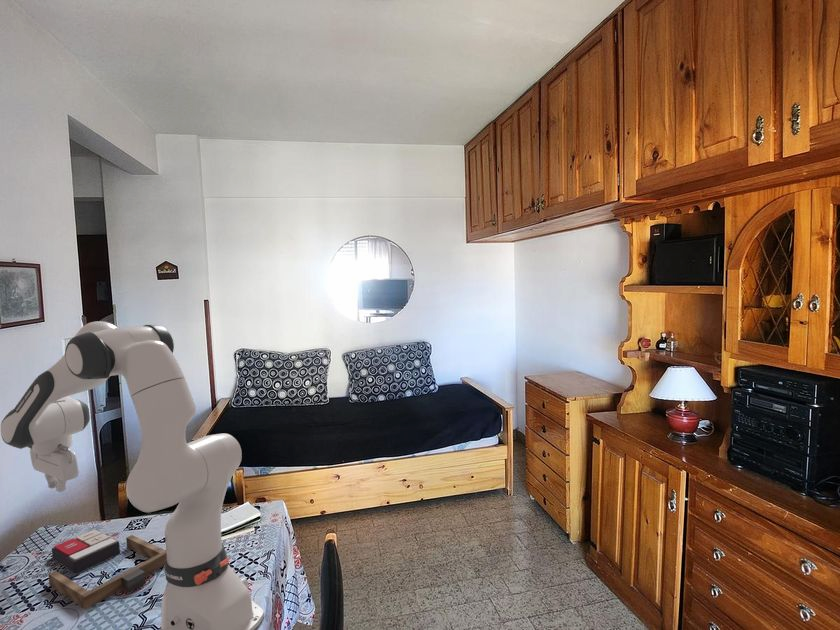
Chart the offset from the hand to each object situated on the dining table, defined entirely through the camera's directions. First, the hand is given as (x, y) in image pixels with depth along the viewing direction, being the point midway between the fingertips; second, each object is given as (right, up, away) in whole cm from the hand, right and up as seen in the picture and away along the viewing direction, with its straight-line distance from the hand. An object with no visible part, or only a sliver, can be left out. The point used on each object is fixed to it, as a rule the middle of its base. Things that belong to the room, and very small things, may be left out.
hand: (57, 489), depth 131 cm
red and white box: (+11, -18, -4) cm, 21 cm away
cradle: (+26, -17, -14) cm, 34 cm away
